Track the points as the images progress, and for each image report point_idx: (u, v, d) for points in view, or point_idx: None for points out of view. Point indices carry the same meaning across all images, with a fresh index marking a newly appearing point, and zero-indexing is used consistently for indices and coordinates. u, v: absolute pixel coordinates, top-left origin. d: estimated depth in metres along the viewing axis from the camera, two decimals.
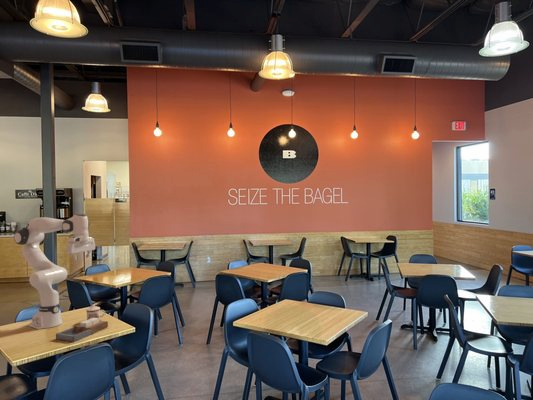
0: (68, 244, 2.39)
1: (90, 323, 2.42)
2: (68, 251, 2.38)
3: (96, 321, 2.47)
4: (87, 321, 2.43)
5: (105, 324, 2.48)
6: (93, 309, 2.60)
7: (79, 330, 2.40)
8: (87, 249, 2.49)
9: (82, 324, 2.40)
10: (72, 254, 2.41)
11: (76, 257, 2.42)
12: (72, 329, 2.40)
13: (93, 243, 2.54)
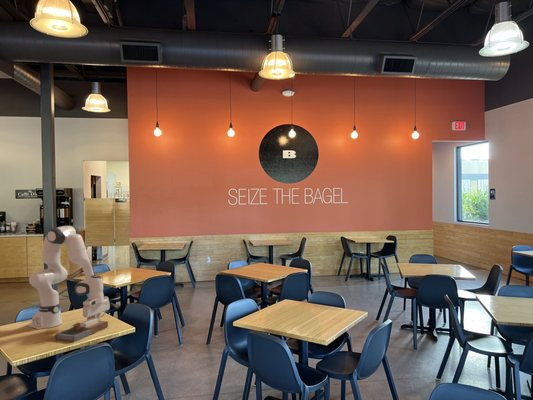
0: (84, 308, 2.42)
1: (90, 323, 2.42)
2: (84, 315, 2.42)
3: (95, 321, 2.46)
4: (87, 321, 2.43)
5: (105, 324, 2.48)
6: None
7: (79, 330, 2.40)
8: (102, 310, 2.53)
9: (82, 324, 2.40)
10: (93, 315, 2.49)
11: None
12: (72, 329, 2.40)
13: (108, 303, 2.58)
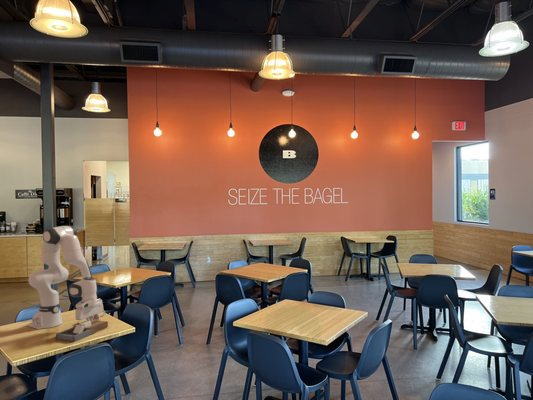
0: (77, 310, 2.37)
1: (82, 328, 2.36)
2: (77, 318, 2.36)
3: (88, 324, 2.41)
4: (78, 328, 2.36)
5: (105, 324, 2.48)
6: None
7: None
8: (95, 312, 2.48)
9: (75, 333, 2.36)
10: (86, 318, 2.43)
11: (90, 320, 2.44)
12: (72, 329, 2.40)
13: (101, 305, 2.52)
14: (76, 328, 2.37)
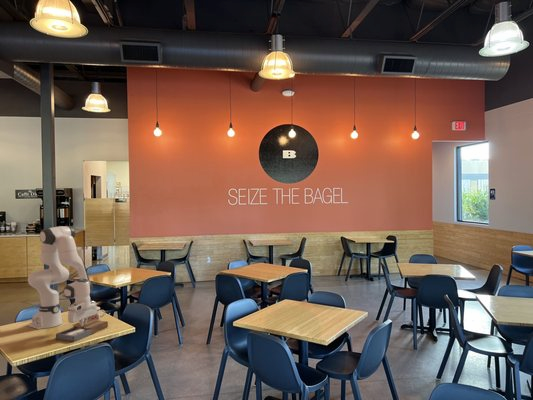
0: (69, 313, 2.32)
1: None
2: (69, 320, 2.31)
3: None
4: None
5: (105, 324, 2.48)
6: None
7: None
8: (89, 315, 2.43)
9: None
10: (79, 320, 2.38)
11: (83, 323, 2.39)
12: (72, 329, 2.40)
13: (95, 307, 2.47)
14: None
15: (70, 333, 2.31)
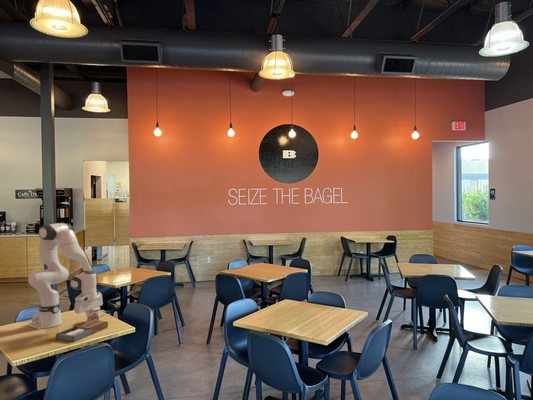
0: (76, 303, 2.37)
1: None
2: (76, 311, 2.37)
3: None
4: None
5: (105, 324, 2.48)
6: None
7: None
8: (95, 306, 2.48)
9: None
10: (85, 311, 2.44)
11: (89, 314, 2.45)
12: (72, 329, 2.40)
13: (101, 299, 2.53)
14: None
15: (70, 333, 2.31)
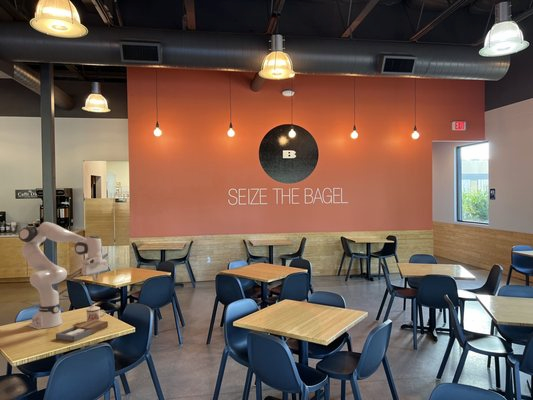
0: (83, 266, 2.50)
1: None
2: (83, 272, 2.49)
3: None
4: None
5: (105, 324, 2.48)
6: (93, 309, 2.60)
7: None
8: (100, 270, 2.61)
9: None
10: (91, 274, 2.56)
11: (95, 277, 2.57)
12: (72, 329, 2.40)
13: (106, 263, 2.65)
14: None
15: (70, 333, 2.31)
